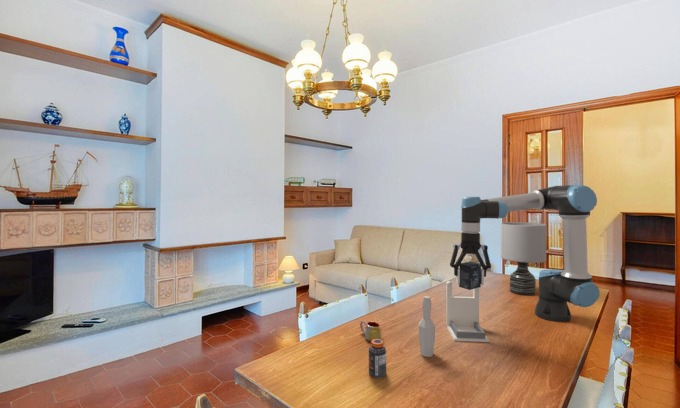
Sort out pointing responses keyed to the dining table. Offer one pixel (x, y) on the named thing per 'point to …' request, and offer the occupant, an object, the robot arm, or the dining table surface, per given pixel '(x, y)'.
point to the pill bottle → (377, 359)
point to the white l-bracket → (463, 317)
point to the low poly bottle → (426, 329)
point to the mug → (371, 330)
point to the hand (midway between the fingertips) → (469, 283)
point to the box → (470, 275)
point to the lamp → (523, 252)
